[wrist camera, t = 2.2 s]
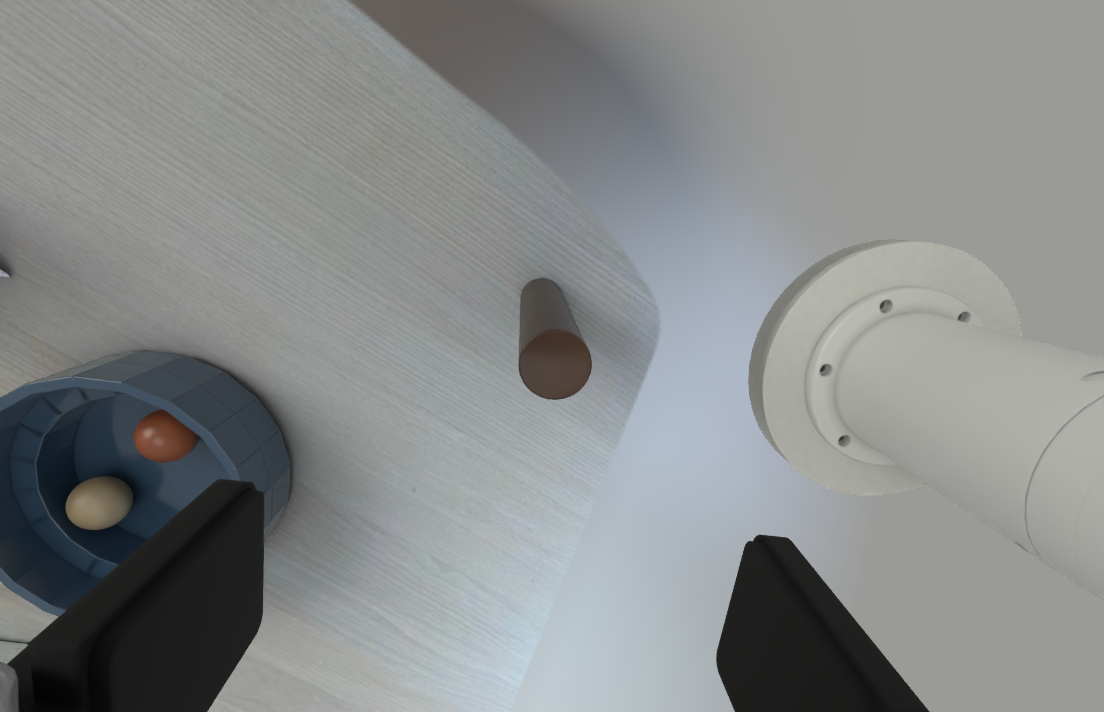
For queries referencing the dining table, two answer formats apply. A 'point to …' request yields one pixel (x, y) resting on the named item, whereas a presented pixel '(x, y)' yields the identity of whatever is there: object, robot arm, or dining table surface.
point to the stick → (550, 343)
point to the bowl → (120, 464)
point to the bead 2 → (163, 437)
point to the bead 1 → (99, 502)
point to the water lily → (3, 274)
